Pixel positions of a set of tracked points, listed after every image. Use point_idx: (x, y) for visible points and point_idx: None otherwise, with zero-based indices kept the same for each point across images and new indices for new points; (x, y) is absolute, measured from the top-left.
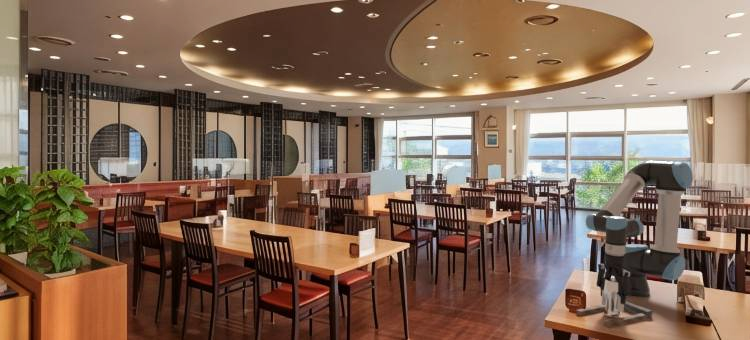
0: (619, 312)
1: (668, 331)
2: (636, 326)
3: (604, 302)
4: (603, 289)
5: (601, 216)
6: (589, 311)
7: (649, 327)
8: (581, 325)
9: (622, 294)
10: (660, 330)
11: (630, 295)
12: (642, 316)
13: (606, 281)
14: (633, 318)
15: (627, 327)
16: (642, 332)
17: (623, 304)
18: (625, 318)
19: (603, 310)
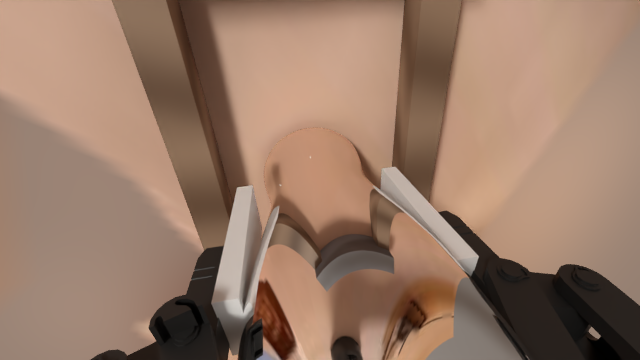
0: (362, 168)
1: (610, 21)
2: (464, 150)
3: (258, 229)
4: (229, 346)
5: None
6: None
7: (514, 87)
8: None
9: None
10: (571, 61)
11: (582, 268)
12: (455, 10)
13: None
14: (438, 122)
15: (444, 202)
16: (510, 180)
17: (419, 198)
18: (420, 183)
19: (219, 154)
